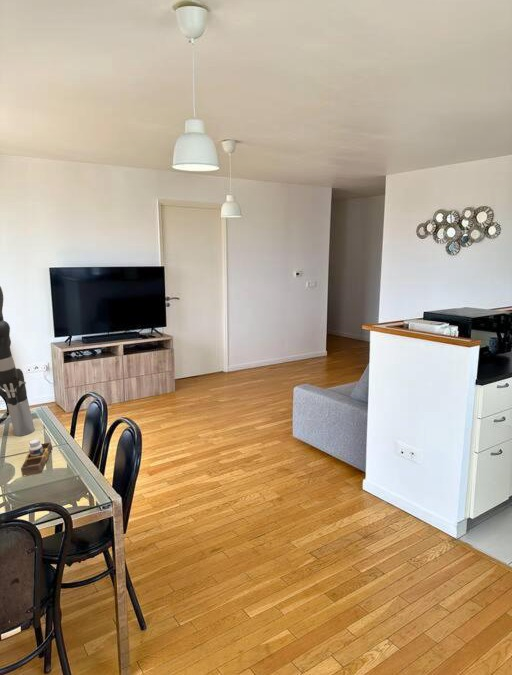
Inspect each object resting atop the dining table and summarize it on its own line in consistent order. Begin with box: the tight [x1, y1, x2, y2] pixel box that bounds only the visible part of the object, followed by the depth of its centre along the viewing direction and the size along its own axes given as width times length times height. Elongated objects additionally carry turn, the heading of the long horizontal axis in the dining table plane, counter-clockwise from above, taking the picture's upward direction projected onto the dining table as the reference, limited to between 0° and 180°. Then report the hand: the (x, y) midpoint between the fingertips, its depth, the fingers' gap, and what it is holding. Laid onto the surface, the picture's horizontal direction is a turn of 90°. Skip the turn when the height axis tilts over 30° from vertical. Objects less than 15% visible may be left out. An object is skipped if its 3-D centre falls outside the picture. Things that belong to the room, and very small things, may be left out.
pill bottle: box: [28, 438, 44, 458], centre depth 201 cm, size 5×5×9 cm
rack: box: [20, 441, 53, 477], centre depth 202 cm, size 21×8×4 cm, turn 11°
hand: (14, 404), depth 203 cm, fingers closed
